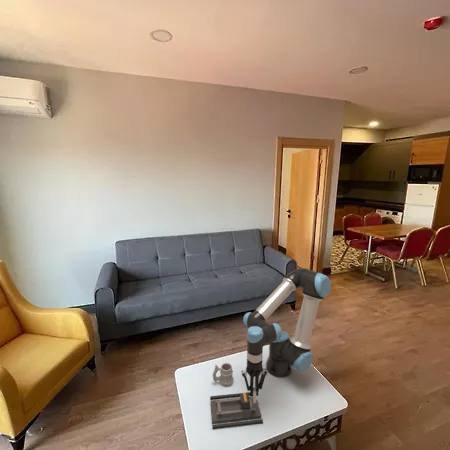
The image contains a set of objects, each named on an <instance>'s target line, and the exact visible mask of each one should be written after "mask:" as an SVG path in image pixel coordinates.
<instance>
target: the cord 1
mask: <svg viewBox="0 0 450 450" xmlns="http://www.w3.org/2000/svg"><path fill="white" fill-rule="evenodd" d="M245 393H246V394H248V396H249V397H250V396H251V395H250V391H247V392H245ZM240 394H243V392H239V393H228V394H222V395H221V394H220V395H219V394H218V395H211V396H209V399H210V401H212V400H221V399H231V398H240Z"/></svg>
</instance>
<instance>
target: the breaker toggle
mask: <svg viewBox="0 0 450 450" xmlns="http://www.w3.org/2000/svg"><path fill="white" fill-rule="evenodd" d="M242 393H243V394H240V397H239V398H240V404H241V409H242V410H243V409H250V400H249V397H250V396H248V394H246V393H247V392H242Z"/></svg>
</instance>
